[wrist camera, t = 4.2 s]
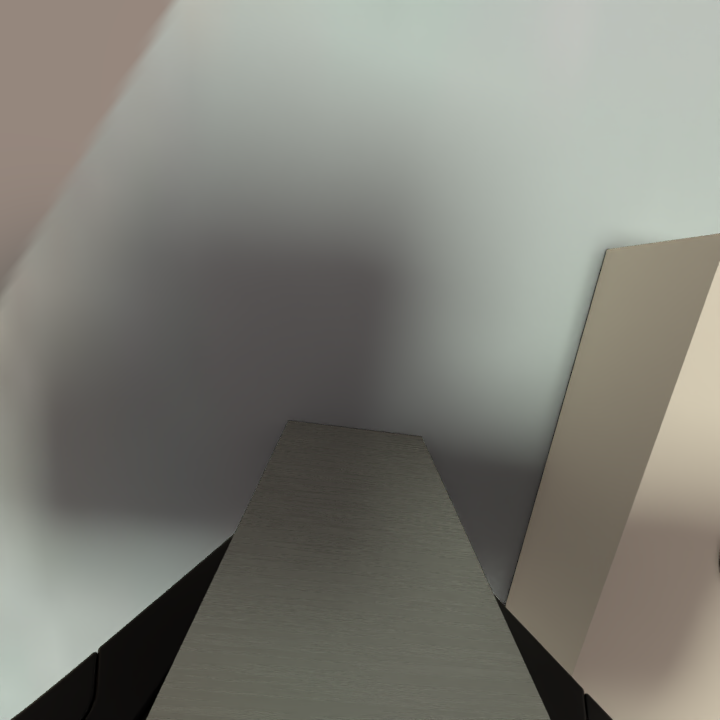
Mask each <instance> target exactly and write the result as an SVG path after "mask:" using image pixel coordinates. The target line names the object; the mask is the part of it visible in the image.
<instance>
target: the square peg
mask: <svg viewBox="0 0 720 720" xmlns="http://www.w3.org/2000/svg"><path fill="white" fill-rule="evenodd" d="M146 720H550V717H549V715H548V713H547V711H546V709H545V706H544V704H543V702H542V700H541V698H540V695H539V693H538V691H537V689H536V687H535V684H534V682H533V680H532V678H531V676H530V674H529V671H528V669H527V667H526V665H525V663H524V660H523V658H522V656H521V654H520V652H519V649H518V647H517V645H516V643H515V641H514V638H513V636H512V634H511V632H510V630H509V627H508V625H507V623H506V621H505V619H504V616H503V614H502V612H501V610H500V608H499V605H498V603H497V601H496V599H495V597H494V594H493V592H492V590H491V588H490V586H489V583H488V581H487V579H486V577H485V575H484V572H483V570H482V568H481V566H480V564H479V561H478V559H477V557H476V555H475V553H474V550H473V548H472V546H471V544H470V542H469V539H468V537H467V535H466V533H465V531H464V528H463V526H462V524H461V522H460V520H459V517H458V515H457V513H456V511H455V509H454V506H453V504H452V502H451V500H450V498H449V495H448V493H447V491H446V489H445V487H444V484H443V482H442V480H441V478H440V476H439V473H438V471H437V469H436V467H435V465H434V462H433V460H432V458H431V456H430V454H429V451H428V449H427V447H426V445H425V443H424V440H423V438H422V437H421V436H413V435H405V434H396V433H388V432H380V431H372V430H363V429H355V428H347V427H338V426H330V425H322V424H313V423H305V422H297V421H288V422H287V425H286V427H285V429H284V431H283V433H282V435H281V437H280V439H279V441H278V443H277V446H276V448H275V450H274V452H273V454H272V456H271V458H270V460H269V462H268V465H267V467H266V469H265V471H264V473H263V475H262V477H261V479H260V481H259V483H258V486H257V488H256V490H255V492H254V494H253V496H252V498H251V500H250V502H249V504H248V507H247V509H246V511H245V513H244V515H243V517H242V519H241V521H240V523H239V525H238V528H237V530H236V532H235V534H234V536H233V538H232V540H231V542H230V544H229V547H228V549H227V551H226V553H225V555H224V557H223V559H222V561H221V563H220V565H219V568H218V570H217V572H216V574H215V576H214V578H213V580H212V582H211V584H210V586H209V589H208V591H207V593H206V595H205V597H204V599H203V601H202V603H201V605H200V607H199V610H198V612H197V614H196V616H195V618H194V620H193V622H192V624H191V626H190V628H189V631H188V633H187V635H186V637H185V639H184V641H183V643H182V645H181V647H180V650H179V652H178V654H177V656H176V658H175V660H174V662H173V664H172V666H171V668H170V671H169V673H168V675H167V677H166V679H165V681H164V683H163V685H162V687H161V689H160V692H159V694H158V696H157V698H156V700H155V702H154V704H153V706H152V708H151V710H150V713H149V715H148V717H147V719H146Z"/></svg>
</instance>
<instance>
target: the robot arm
mask: <svg viewBox="0 0 720 720" xmlns="http://www.w3.org/2000/svg"><path fill="white" fill-rule="evenodd" d="M233 536H234V535H232V536H231V537H230V538H229V539H228V540H226V541H225V542H224V543H223V544H222V545H221V546H219V547H218V548H217V549H216V550H215V551H213V552H212V553H211V554H210V555H209V556H207V557H206V558H205V559H204V560H203V561H202V562H200V563H199V564H198V565H197V566H196V567H194V568H193V569H192V570H191V571H190V572H189V573H187V574H186V575H185V576H184V577H183V578H181V579H180V580H179V581H178V582H177V583H175V584H174V585H173V586H172V587H171V588H170V589H168V590H167V591H166V592H165V593H164V594H162V595H161V596H160V597H159V598H158V599H157V600H155V601H154V602H153V603H152V604H151V605H149V606H148V607H147V608H146V609H145V610H143V611H142V612H141V613H140V614H139V615H138V616H136V617H135V618H134V619H133V620H132V621H130V622H129V623H128V624H127V625H126V626H125V627H123V628H122V629H121V630H120V631H119V632H117V633H116V634H115V635H114V636H113V637H111V638H110V639H109V640H108V641H107V642H106V643H104V644H103V645H102V646H101V647H100V648H99V649H98V653H97V652H94V653H92V654H91V655H90V656H89V657H88V658H86V659H85V660H84V661H83V662H82V663H80V664H79V665H78V666H77V667H76V668H74V669H73V670H72V671H71V672H70V673H68V674H67V675H66V676H65V677H64V678H62V679H61V680H60V681H59V682H57V683H56V684H55V685H54V686H53V687H51V688H50V689H49V690H48V691H46V692H45V693H44V694H43V695H41V696H40V697H39V698H38V699H37V700H35V701H34V702H33V703H32V704H30V705H29V706H28V707H27V708H25V709H24V710H23V711H21V712H20V713H19V714H17V715H16V716H15V717H13V718H12V719H11V720H146V719H147V717H148V715H149V713H150V710H151V708H152V706H153V704H154V702H155V700H156V698H157V696H158V694H159V692H160V689H161V687H162V685H163V683H164V681H165V679H166V677H167V675H168V673H169V671H170V668H171V666H172V664H173V662H174V660H175V658H176V656H177V654H178V652H179V650H180V647H181V645H182V643H183V641H184V639H185V637H186V635H187V633H188V631H189V628H190V626H191V624H192V622H193V620H194V618H195V616H196V614H197V612H198V610H199V607H200V605H201V603H202V601H203V599H204V597H205V595H206V593H207V591H208V589H209V586H210V584H211V582H212V580H213V578H214V576H215V574H216V572H217V570H218V568H219V565H220V563H221V561H222V559H223V557H224V555H225V553H226V551H227V549H228V547H229V544H230V542H231V540H232V538H233ZM494 597H495V599H496V601H497V603H498V605H499V608H500V610H501V612H502V614H503V616H504V619H505V621H506V623H507V625H508V627H509V630H510V632H511V634H512V636H513V638H514V641H515V643H516V645H517V647H518V649H519V652H520V654H521V656H522V658H523V660H524V663H525V665H526V667H527V669H528V671H529V674H530V676H531V678H532V680H533V682H534V684H535V687H536V689H537V691H538V693H539V695H540V698H541V700H542V702H543V704H544V706H545V709H546V711H547V713H548V715H549V717H550V720H613V719H612V718H611V717H610V716H609V715H608V714H607V713H606V712H605V711H604V710H603V709H602V708H601V707H600V706H599V705H598V703H597V702H596V701H595V700H594V699H593V698H592V697H591V696H590V695H589V694H587V693H585V694H584V689H583V688H582V687H581V686H580V685H579V684H578V683H577V682H576V681H575V679H574V678H573V677H572V676H571V675H570V674H569V673H568V672H567V671H566V670H565V669H564V668H563V667H562V666H561V665H560V664H559V663H558V662H557V661H556V659H555V658H554V657H553V656H552V655H551V654H550V653H549V652H548V651H547V650H546V649H545V648H544V647H543V646H542V645H541V644H540V643H539V642H538V641H537V639H536V638H535V637H534V636H533V635H532V634H531V633H530V632H529V631H528V630H527V629H526V628H525V627H524V626H523V625H522V624H521V623H520V622H519V621H518V620H517V618H516V617H515V616H514V615H513V614H512V613H511V612H510V611H509V610H508V609H507V608H506V607H505V606H504V605H503V604H502V603H501V602H500V601H499V600H498V598H497V597H496V596H495V595H494Z"/></svg>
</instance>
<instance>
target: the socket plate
mask: <svg viewBox="0 0 720 720" xmlns="http://www.w3.org/2000/svg"><path fill="white" fill-rule="evenodd" d="M505 607H506V608H507V609H508V610H509V611H510V612H511V613H512V614H513V615H514V616H515V617H516V618H517V620H518V621H519V622H520V623H521V624H522V625H523V626H524V627H525V628H526V629H527V630H528V631H529V632H530V633H531V634H532V635H533V636H534V637H535V638H536V639H537V641H538V642H539V643H540V644H541V645H542V646H543V647H544V648H545V649H546V650H547V651H548V652H549V653H550V654H551V655H552V656H553V657H554V658H555V659H556V661H557V662H558V663H559V664H560V665H561V666H562V667H563V668H564V669H565V670H566V671H567V672H568V673H569V674H570V675H571V676H572V677H573V678H574V679H575V681H576V682H577V683H578V684H579V685H580V686H581V687H582V688H583V689H584V694H585V693H587V694H589V695H590V696H591V697H592V698H593V699H594V700H595V701H596V702H597V703H598V705H599V706H600V707H601V708H602V709H603V710H604V711H605V712H606V713H607V714H608V715H609V716H610V717H611V718H612V719H613V720H720V233H719V234H712V235H705V236H698V237H691V238H684V239H677V240H670V241H663V242H656V243H648V244H641V245H634V246H627V247H620V248H613V249H607V251H606V255H605V258H604V262H603V265H602V269H601V272H600V276H599V279H598V283H597V286H596V290H595V293H594V297H593V300H592V304H591V307H590V311H589V314H588V318H587V321H586V325H585V328H584V332H583V335H582V339H581V343H580V346H579V350H578V353H577V357H576V360H575V364H574V367H573V371H572V374H571V378H570V381H569V385H568V388H567V392H566V395H565V399H564V402H563V406H562V409H561V413H560V416H559V420H558V423H557V427H556V430H555V434H554V437H553V441H552V444H551V448H550V451H549V455H548V458H547V462H546V465H545V469H544V472H543V476H542V479H541V483H540V486H539V490H538V493H537V497H536V501H535V504H534V508H533V511H532V515H531V518H530V522H529V525H528V529H527V532H526V536H525V539H524V543H523V546H522V550H521V553H520V557H519V560H518V564H517V567H516V571H515V574H514V578H513V581H512V585H511V588H510V592H509V595H508V599H507V602H506V606H505Z"/></svg>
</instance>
